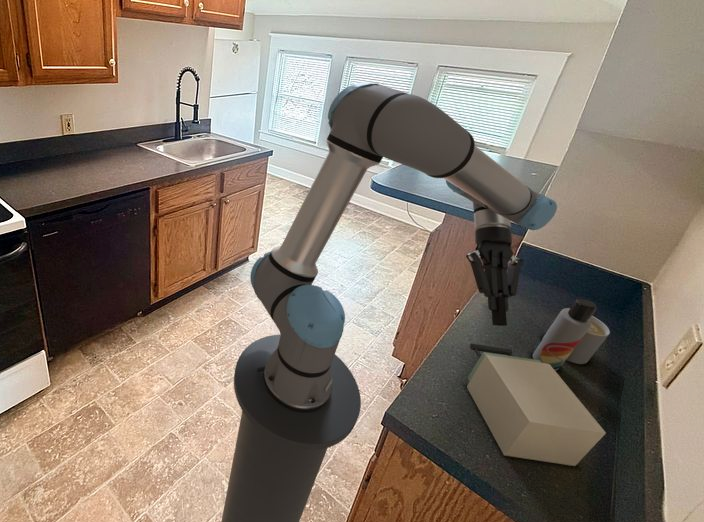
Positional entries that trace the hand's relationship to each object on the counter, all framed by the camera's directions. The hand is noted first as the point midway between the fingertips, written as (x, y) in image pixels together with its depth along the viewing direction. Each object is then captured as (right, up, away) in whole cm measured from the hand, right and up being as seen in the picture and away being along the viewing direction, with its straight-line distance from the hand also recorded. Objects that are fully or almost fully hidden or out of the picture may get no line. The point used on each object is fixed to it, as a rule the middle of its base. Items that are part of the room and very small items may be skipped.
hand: (499, 325), depth 89 cm
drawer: (-2, -15, -4) cm, 16 cm away
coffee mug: (+28, -10, +14) cm, 33 cm away
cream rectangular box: (-3, -18, -9) cm, 20 cm away
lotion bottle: (+17, -12, +8) cm, 23 cm away
